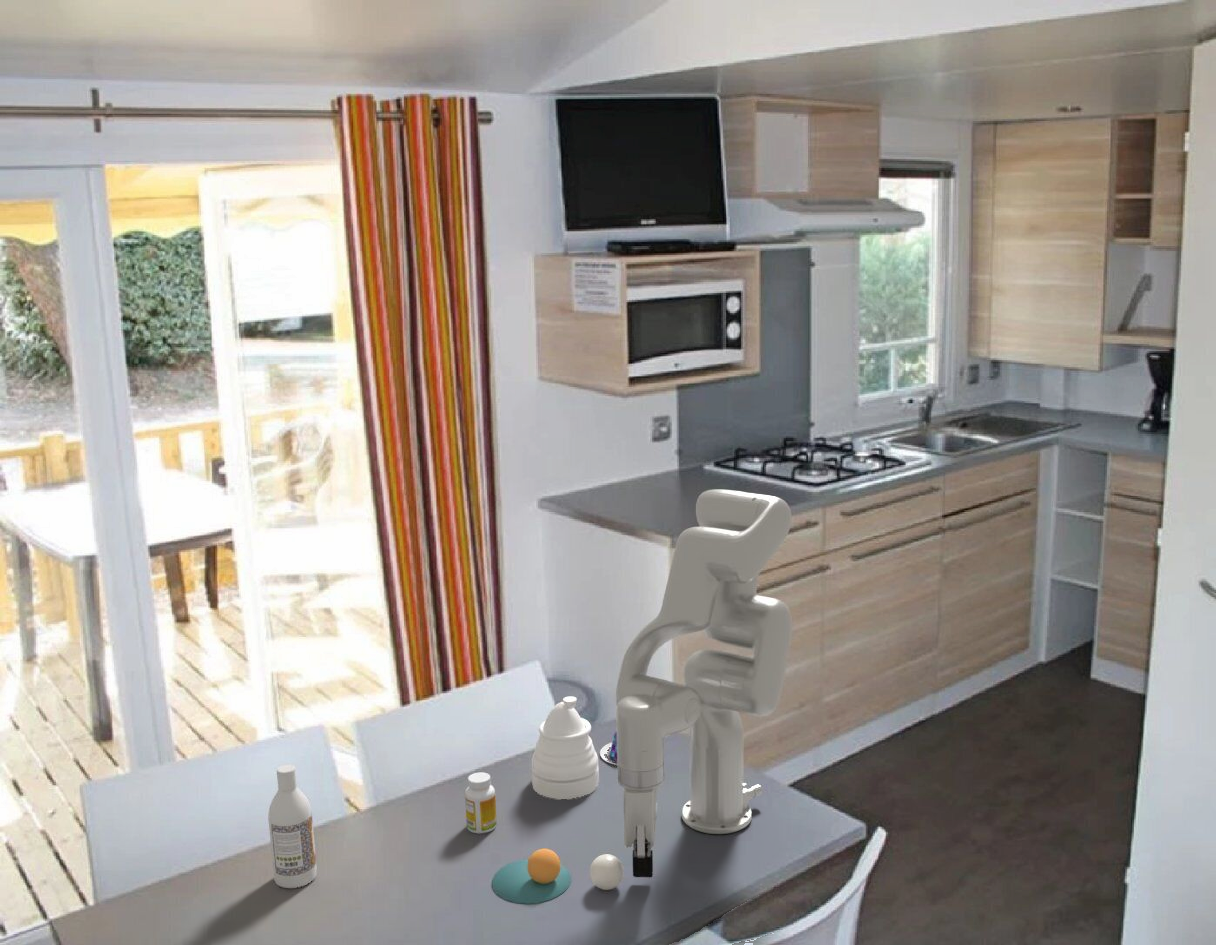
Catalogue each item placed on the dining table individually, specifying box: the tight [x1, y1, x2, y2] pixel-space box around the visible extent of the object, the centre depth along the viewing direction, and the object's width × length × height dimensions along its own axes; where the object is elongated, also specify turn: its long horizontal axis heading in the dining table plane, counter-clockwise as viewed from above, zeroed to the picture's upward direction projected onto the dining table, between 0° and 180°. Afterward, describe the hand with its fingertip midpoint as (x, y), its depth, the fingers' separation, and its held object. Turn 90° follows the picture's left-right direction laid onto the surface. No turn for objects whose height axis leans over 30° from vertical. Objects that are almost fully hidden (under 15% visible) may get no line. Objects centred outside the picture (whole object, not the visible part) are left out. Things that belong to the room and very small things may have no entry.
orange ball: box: [527, 848, 562, 884], centre depth 195 cm, size 6×6×6 cm
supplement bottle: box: [464, 771, 498, 834], centre depth 212 cm, size 5×5×10 cm
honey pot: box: [531, 695, 600, 800], centre depth 227 cm, size 13×13×18 cm
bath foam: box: [268, 764, 318, 889], centre depth 196 cm, size 7×7×20 cm
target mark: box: [491, 858, 572, 905], centre depth 196 cm, size 13×13×1 cm
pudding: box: [599, 730, 617, 766], centre depth 239 cm, size 12×12×5 cm
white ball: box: [589, 853, 624, 891], centre depth 193 cm, size 6×6×6 cm
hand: (642, 874), depth 194 cm, fingers closed
